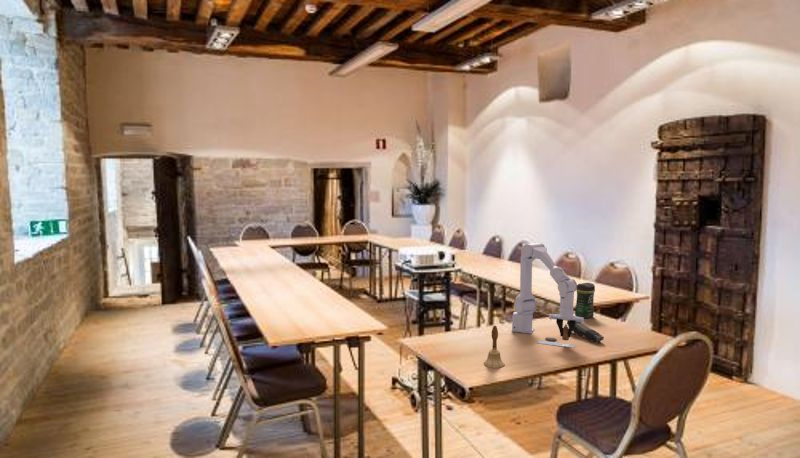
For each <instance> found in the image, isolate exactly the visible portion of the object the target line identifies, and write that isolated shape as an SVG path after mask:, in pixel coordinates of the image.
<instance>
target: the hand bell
mask: <svg viewBox="0 0 800 458" xmlns="http://www.w3.org/2000/svg"><path fill="white" fill-rule="evenodd" d="M498 338H499V330H498V327H497V325H493V326H492V329H491V339H492V347H491V348H492V349H490V350H489V351H488V355H487V358H486V359H485V360H484V361H483V365H484V366H485V367H487V368H492V369H501V368H504V367H505V362H504V361H503V360H502V357H501V351H499V350H498V349H497V344H498V343H497V341H498Z"/></svg>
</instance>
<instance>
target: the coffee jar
mask: <svg viewBox="0 0 800 458" xmlns="http://www.w3.org/2000/svg"><path fill="white" fill-rule="evenodd" d="M595 292H596V286H595V284H594V283H592V282H583V283H577V289H576V303H575V312H574V313H575V314H574V316H577V317H583V318H584V319H590V318H591V319H592V318H593V317H594V315H595V314H594V313H595V310H594V301H595V300H594V295H595Z"/></svg>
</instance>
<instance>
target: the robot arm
mask: <svg viewBox="0 0 800 458" xmlns="http://www.w3.org/2000/svg"><path fill="white" fill-rule="evenodd" d="M520 248H521V249H520V253H521V254H520V263H519V264H520V267H519V269H520V271H519V272H520V278H519V283H520V284H519V294H518V295H516V296H515V301H514V304H513V309H514V310H515V311H513V313H512V317H511V318H512V319H511V331H512V332H514V333H516V332H517V333H524V334H532V333H533V332H534V331H535V328H533V319H534V318H533V317H534V316H533V314H534V311H536V310H537V303H536V302H537V301H536V296H535V295H533V293H532V292H533V291H532V289H533V285H532V283H533V281H532V279H533V262H534V261H535V260H536V259H537V260H540V261H541V262H542V263H543V265H545V267H546V268H547V269H548V270H549V275H550V277H551V279H553V281H554V282H555V283H556V284H557V290H558V291H559V297H560V298H559V313H557V314H556V313H549V315H548V318H549V320H556V323H555V324H556V325H557V327H558V330H559V334H560V337H562V331H563V328H564V321H566V322H567V321H570V322H569V326H568V328H569V335H568V337H569V338H571V337H572V333H573V331H572V329H573V327H574V325H575V323H576V322H581V323H583V324H584V320H585V318H583V317H577V316H575V315H574V300H575V292H577V290H576V289H577V285H578V283H577V282H576V280H575V279H574V278H571V277H569V276H568V275H567V273H566V272H565V271H564V269H563V267H562V266H561V267H560V266H557V265H556V264H555V262H554V260H553V259H552V257H551V256H550V254H549V253H548V252H547V251H548V249H547V247H546V246H545V244H544V243H543V242H537V243H526V244H525V243H524V245H523V246H522V247H520Z"/></svg>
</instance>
